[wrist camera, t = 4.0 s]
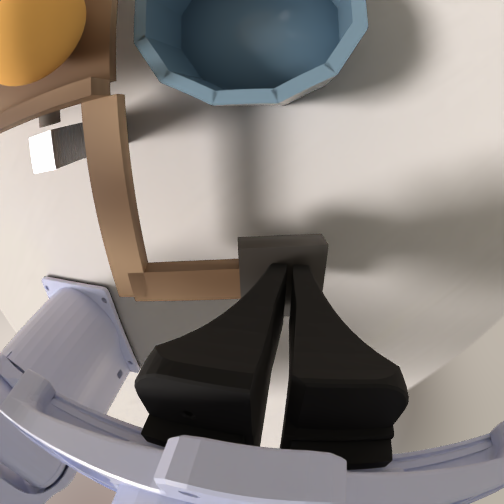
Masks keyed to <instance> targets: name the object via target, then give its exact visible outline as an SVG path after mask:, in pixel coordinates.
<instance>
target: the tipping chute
mask: <svg viewBox="0 0 504 504" xmlns="http://www.w3.org/2000/svg"><path fill="white" fill-rule="evenodd" d="M0 1H1V0H0ZM84 1H85V5H86V22H85V27H84V31H83V33H82V36H81V38H80V40H79V42H78V44H77V46H76V47H75V49H74V51H73V52H72V53H71V55H70V56H69V57H68V58H67V59H66V60H65V62H64V63H63V64H62V65H60V66H59V67H58V68H57V69H56V70H55V71H53V72H52V73H51V74H49V75H47V76H46V77H44V78H42V79H40V80H38V81H36V82H33V83H30V84H26V85H22V86H5V85H2V84H0V133H2V132H4V131H7V130H9V129H11V128H13V127H16V126H18V125H20V124H23V123H25V122H28V121H30V120H33V119H35V118H38V117H39V126H40V127H45V126H48V125H52V124H55V123H58V122H61V121H60V110H61V109H64V108H67V107H70V106H73V105H77V104H80V103H81V108H82V121H83V131H84V141H85V149H86V156H87V163H88V170H89V176H90V182H91V188H92V193H93V198H94V203H95V208H96V213H97V217H98V222H99V226H100V230H101V234H102V238H103V242H104V246H105V250H106V254H107V257H108V261H109V264H110V268H111V271H112V275H113V278H114V281H115V284H116V287H117V291H118V294H119V297H134V298H135V301H184V300H217V299H240V298H242V297H243V296H244V295H245V294H246V293H247V292H248V291H249V290H250V289H251V288H252V287H253V286H254V285H255V283H256V282H257V281H258V280H259V279H260V278H261V276H262V275H263V274H264V272H265V271H266V270H267V268H268V266H269V265H271V264H287V276H286V294H285V308H284V316H290V305H291V292H292V277H293V265H294V264H297V265H309V266H310V267H311V269H312V272H313V275H314V277H315V279H316V281H317V283H318V285H319V287H320V289H321V291H322V290H323V283H324V276H325V268H326V260H327V252H328V244H327V242H326V240H325V239H324V237H323V236H322V234H307V235H281V236H257V237H238V255H239V259H222V260H200V261H177V262H154V263H148V260H147V256H146V251H145V246H144V241H143V236H142V231H141V226H140V220H139V215H138V209H137V203H136V197H135V190H134V184H133V177H132V169H131V161H130V153H129V144H128V133H127V122H126V108H125V95H123V94H115V95H111V96H110V82H114V81H116V23H117V6H118V0H84Z"/></svg>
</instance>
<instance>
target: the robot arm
mask: <svg viewBox="0 0 504 504" xmlns="http://www.w3.org/2000/svg"><path fill="white" fill-rule="evenodd" d="M286 276H287V264H271V265H269V266H268V268H267V270H266V271H265V272H264V274H263V275H262V276H261V278H260V279H259V280H258V281H257V282H256V283H255V285H254V286H253V287H252V288H251V289H250V290H249V291H248V292H247V293H246V294H245V295H244V296H243V297H242V298H241V299H240V300H239V301H238V302H237V303H236V304H234V305H233V306H232V307H231V308H230V309H228V310H227V311H226V312H225V313H223V314H222V315H220V316H219V317H217V318H216V319H214V320H213V321H211V322H209V323H208V324H206V325H205V326H203V327H201V328H199V329H197V330H195V331H193V332H191V333H189V334H187V335H184V336H182V337H180V338H177V339H174V340H172V341H169V342H166V343H163V344H160V345H157V346H155V348H154V349H153V351H152V352H151V354H150V355H149V356H148V358H147V360H146V361H145V363H144V365H143V367H142V368H141V370H140V367H139V365H138V363H137V361H136V358H135V356H134V354H133V352H132V349H131V347H130V345H129V342H128V340H127V337H126V335H125V333H124V330H123V328H122V325H121V322H120V320H119V317H118V315H117V312H116V309H115V306H114V304H113V301H112V298H111V295H110V292H109V290H108V289H107V288H105V287H102V286H96V285H90V284H85V283H79V282H73V281H68V280H62V279H57V278H52V277H47V276H44V277H43V278H42V283H43V285H44V288H45V290H46V293H47V295H48V297H49V299H48V300H47V301H46V302H45V303H44V305H43V306H42V307H41V308H40V309H39V310H38V311H37V312H36V313H35V314H34V315H33V316H32V317H31V318H30V319H29V320H28V321H27V322H26V324H25V325H24V326H23V327H22V328H21V329H20V330H19V331H18V332H17V334H16V335H15V336H14V337H13V338H12V339H11V341H10V342H9V343H8V344H7V345H6V346H5V347H4V349H3V350H2V351H1V353H0V504H45V503H46V502H47V501H48V500H49V499H50V498H51V497H52V496H53V495H55V494H56V493H57V492H60V491H62V490H63V489H65V488H66V487H67V486H68V485H69V484H70V483H71V481H72V480H73V478H74V476H75V474H76V472H79V473H81V474H83V475H84V476H86V477H88V478H90V479H92V480H93V481H95V482H97V483H99V484H101V485H103V486H105V487H107V488H109V489H111V490H113V491H115V492H116V494H115V497H114V499H113V502H112V504H470V503H472V502H474V501H477V500H479V499H482V498H484V497H486V496H488V495H491V494H493V493H495V492H497V491H499V490H500V489H502V488H504V421H503V422H501V423H500V424H498V425H497V426H496V427H495V428H494V429H493V430H492V431H491V432H490V433H489V434H486V435H483V436H479V437H476V438H473V439H469V440H465V441H461V442H458V443H454V444H449V445H445V446H440V447H436V448H431V449H425V450H420V451H413V452H407V453H400V454H392V447H391V439H392V438H393V437H394V429H393V424H394V423H395V422H396V421H397V419H398V418H399V417H400V415H401V414H402V413H403V411H404V410H405V408H406V406H407V405H408V398H409V396H408V392H407V387H406V384H405V381H404V378H403V375H402V373H401V370H400V367H399V366H397V365H396V364H394V363H393V362H391V361H389V360H388V359H386V358H385V357H383V356H382V355H380V354H379V353H377V352H376V351H375V350H373V349H372V348H371V347H369V346H368V345H367V344H366V343H364V342H363V341H362V340H361V339H360V338H359V337H358V336H357V335H356V334H355V333H353V332H352V331H351V330H350V329H349V328H348V326H347V325H346V324H345V323H344V322H343V321H342V320H341V318H340V317H339V316H338V315H337V313H336V312H335V311H334V309H333V308H332V306H331V305H330V304H329V302H328V301H327V299H326V297H325V296H324V294H323V292H322V291H321V289H320V287H319V285H318V283H317V281H316V279H315V277H314V275H313V272H312V269H311V267H310V266H309V265H297V264H294V265H293V277H292V292H291V305H290V318H289V381H288V390H287V399H286V407H285V415H284V422H283V430H282V437H281V444H280V449H277V448H267V447H260V443H261V436H262V430H263V423H264V417H265V410H266V404H267V397H268V390H269V383H270V377H271V371H272V367H273V363H274V359H275V355H276V350H277V346H278V342H279V338H280V334H281V330H282V325H283V317H284V308H285V294H286ZM139 370H140V372H139ZM130 371H131V372H135V373H138V372H139V374H138V376H137V378H136V380H135V389H136V392H137V394H138V396H139V398H140V399H141V401H142V403H143V404H144V406H145V408H146V409H147V411H148V413H149V416H148V418H147V420H146V423H145V425H144V427H143V428H141V427H138V426H135V425H132V424H129V423H126V422H124V421H121V420H118V419H116V418H113V417H110V416H108V415H106V414H107V412H108V410H109V408H110V406H111V404H112V403H113V401H114V399H115V397H116V395H117V393H118V392H119V390H120V388H121V386H122V384H123V383H124V381H125V379H126V377H127V375H128V374H129V372H130Z"/></svg>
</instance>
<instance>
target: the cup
mask: <svg viewBox="0 0 504 504" xmlns="http://www.w3.org/2000/svg"><path fill="white" fill-rule="evenodd" d="M367 29H368V19H367V8H366V0H135V14H134V42H135V43H134V44H135V45H136V47H137V48H138V50H139V51H140V53H141V54H142V56H143V57H144V59H145V60H146V62H147V63H148V65H149V66H150V68H151V69H152V71H153V72H154V74H155V75H156V77H157V78H158V80H159V81H160V82H161V83H163V84H165V85H167V86H170V87H172V88H175V89H177V90H179V91H182V92H184V93H186V94H188V95H191V96H193V97H195V98H197V99H199V100H201V101H204V102H206V103H208V104H210V105H213V106H253V105H287V104H289V103H291V102H293V101H295V100H296V99H298V98H300V97H302V96H304V95H307V94H309V93H311V92H313V91H315V90H317V89H319V88H321V87H323V86H325V85H327V84H328V83H329V82H330V81H331V80H332V79H333V78H334V77H335V76H336V75H337V74H338V73H339V71H340V70H341V68H342V67H343V65H344V64H345V62H346V61H347V59H348V58H349V56H350V55H351V53H352V52H353V50H354V49H355V47H356V46H357V44H358V43H359V41H360V40H361V38H362V37H363V35H364V34H365V32H366V31H367Z"/></svg>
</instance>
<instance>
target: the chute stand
mask: <svg viewBox="0 0 504 504" xmlns="http://www.w3.org/2000/svg"><path fill="white" fill-rule="evenodd" d="M29 145H30V152H31V159H32V165H33V171H34V174H35V173H40V172H44V171H49V170H55V169H58V168H60V167H62V166H65V165H67V164H70V163H73V162H75V161H78V160H80V159H83V158H86V157H87V156H86V149H85V141H84V131H83V123H78V124H74V125H69V126H65V127H61V128H57V129H53V130H49V131H46V132H43V133H41V134H38V135H35V136H32V137H30V138H29Z"/></svg>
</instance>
